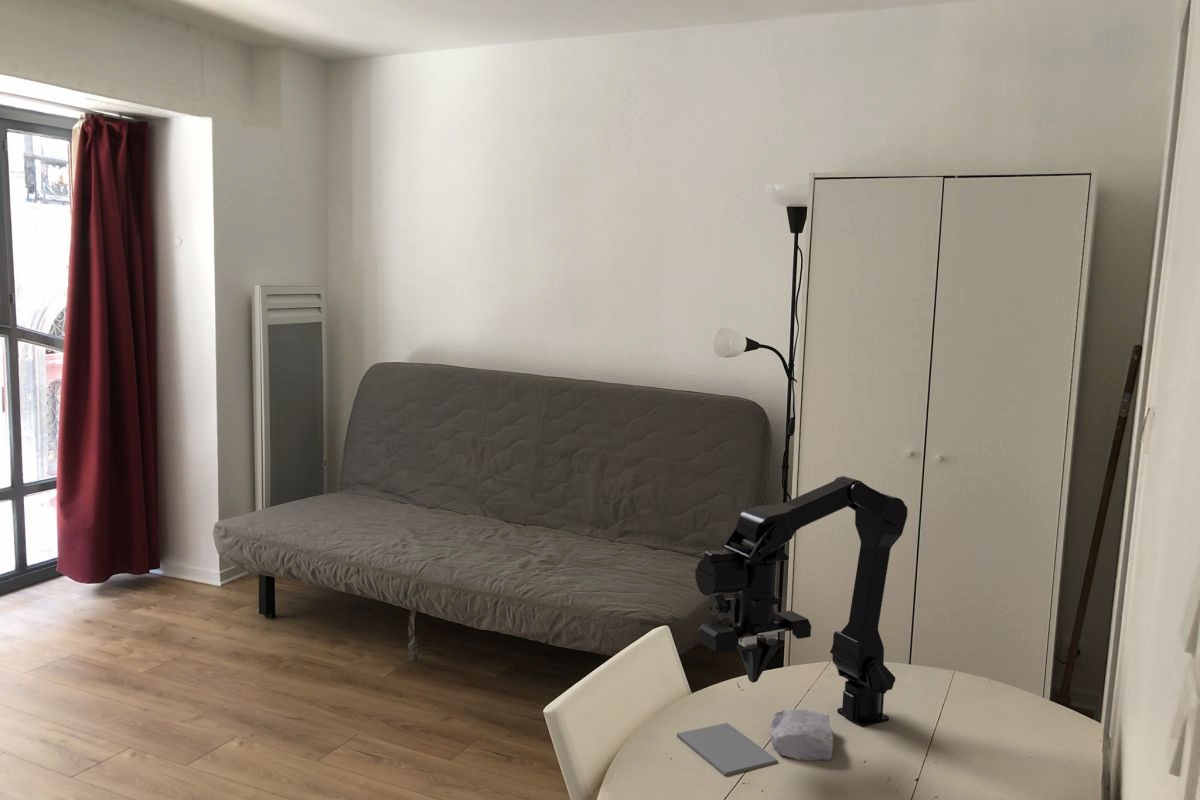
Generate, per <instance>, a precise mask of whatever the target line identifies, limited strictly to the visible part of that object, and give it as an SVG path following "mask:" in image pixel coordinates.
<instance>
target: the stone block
mask: <svg viewBox="0 0 1200 800" xmlns="http://www.w3.org/2000/svg"><path fill="white" fill-rule="evenodd" d="M772 718H773V719H772V720H771V722H770V723H771V725H770V728H769V734H770V740H771V745H772V748H773V749H775V751H776V752H777V754H779V755H781V756H784V757H787V758H791V759H794V760H800V761H801V760H805V761H806V760H807V761H826V762H828V761H831V759H832V758H833V750H834V735H833V730H832V727H831V725H830V724H831V723H830V716H829V713H827V712H826V713H819V712H816V711H814V710H809V709H802V708H790V709H789V708H788V709H782V710H780V711H777V712H775V713H773V717H772Z"/></svg>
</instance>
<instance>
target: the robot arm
mask: <svg viewBox="0 0 1200 800" xmlns="http://www.w3.org/2000/svg"><path fill="white" fill-rule="evenodd" d="M847 507H848V508H850V509H851V510H853V511H854V526H855V529H856V531H857V534H858V537H859V540H860V547H859V553H858V554H859V555H858V559H857V566H856V571H855V572H856V573H855V579H854V586H853V591H852V599H851V604H850V605H851V606H850V612H849V617H848V622H847V624H846V625H845V626H844V627H843V629H842V630H841V631H840V630H838V631H837V630H836V631H834V633H833V639H832V640H833V641H832V646H831V649H830V650H829V653H830V654H832V656H831V657H832V663H833V664H834V666H836V669H837V673H838V676H839V677H842V678H844V679H846V681H845V682H844V690H843V691H842V692H843V693H842V704H841V706H842V707H839V708H837V709H836V710H837V711H836V712H837V713H838V714H840V715H842V716H843V717H845V718H847V719H848V720H849V721H852V722H853V723H855V724H857V725H858V726H860V727H865V726H870V725H875V724H879V723H882V722H883V723H884V722H888V721H889V720H890V716H888V715H887V714H885V713H884V699H885V694H886V693H887V691H890V690H892V689H893V687H894V684H895V681H896V677H895V675H893V673H892V672H891V671H890V670H889V668H887V666H886V665H885V664H884V662H885V661H884V660H885V658H884V657H885V646H884V643H883V642H882V638H881V634H880V632H879V624H880V616H881V611H882V605H883V600H884V599H883V598H884V592H885V586H886V579H887V574H888V568H889V567H888V566H889V560H890V555H891V549H892V547H893V546H895V545H894V544H895V543H896V542H898V540H899V539H900V537H901V536H902V535H903V532H904V528H905V525H906V522H907V519H908V506H907V505H906V503H905V502H904V500H903V499H901V498H899V497H896V496H892V495H888V494H885V493H882V492H879V491H877V490H876V489H874V488H872V487H870V486H868V485H867V484H865V483H864V482H863V481H861V480H860V479H859V480H858V479H856V478H852V477H848V476H845V475H843V476H839V477H836V478H835V479H834V480H833V481H831V482H829V483H826V484H823V485H822V486H820V487H818V488H815V489H813V490H811V491H810V490H809V491H808V492H806V493H803V494H802V495H799V496H796V497H794V498H792V499H790V500H788V501H786V502H783V503H776V504H763V505H759V506H755V507H754V506H753V507H749V508H746V509H745V510H743V511H742V512H741V513H740V514H739V517H738V520H737V522H736V524H735V526H734V527H733V529H732V530H731V532H730V533H729V535H728V536H727V538H726V539H725V540H724V542H723V545H722V546H721V548H722V549H723V550H706V551H704V552H703V559H701V560H700V561H699V562H698V564H697V565H696V566H697V567H696V568H695V574H694V575H695V576H694V577H695V582H696V586H697V588H698V590H699V592H700V593H701V594H702V595H703V596H704V597H705V596H706V597H709V600H708V601H709V602H708V608H709V613H710V614H711V616H715V615H718V619H719V620H724V619H726V618H727V619H728V618H729V622H730V623H733V624H737V626H733V627H731V626H729V625H728V624H725V623H723V622H722V621H713V622H707V623H702V624H701V626H699V628H698V631H697V642H700V643H701V644H702V645H705V646H706V647H708V648H709V649H711V650H712V651H714V652H716V653H717V652H718V653H724V652H730V651H735V650H736V648H737V649H738V652H739V654H740V656H741V659H742V663H743V666H744V669H745V671H746V674H747V675H746V676H747V679H748V681H749V682H750V683H757V682H758V680H759V678H760V677H761V676H762V674H763V672H764V671H765V668H766V667H767V665H768V664H769V662H770V661H771V659H772V657H773V656H774V655H775V653H776V652H777V651H778V649H779V648H782V647H783V645H784V643H783V642H782V641H781V640H778V639H779V633H785V632H788V631H789V632H790V631H792V633H791V634H792V635H793V637H794V638H796V639H797V640H800V639H806V638H811V637H812V624H811V621H810V620H809V618H807V617H804V616H803V615H801V614H799V613H797V612H794V610H785V611H781V612H775V607H776V605H780V604H781V597H780V596H777V595H776V593H777V592H776V589H777V574H778V573H777V571H778V562H784V561H788V560H789V559H790V556H789V555H788V554H787V553H786V552H785V551H784V550H783V549H782V548H781V547H782V546H784V545H785V544H786V543H788V542H789V541H791V540H792V539H793V537H794V535H795V534H796V532H797V531H798V530H800V529H801V528H803V527H805V526H808V525H810V524H812V523H814V522H816V521H818V520H821V519H824V518H826V517H828V516H830V515H831V514H834V513H836V512H838V511H841V510H843V509H845V508H847ZM743 543H747V544H748V545H751V546H753V548H752V547H751V546H750V547H749V546H747V545H746V544H743ZM732 593H733V597H732V598H726V597H725V595H727V594H732Z"/></svg>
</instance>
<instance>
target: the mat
mask: <svg viewBox="0 0 1200 800" xmlns="http://www.w3.org/2000/svg"><path fill="white" fill-rule="evenodd" d="M676 737H677V738H678V739H679V740H680V741H682V742H683V743H684V744H685V745H687V746H688V747H689V748H690V749H692V751H694V752H695V753H696V754H698V755H699V756H700V757H701V758H702V759H704V760H705V761H706V762H707V763H709V765H711V767H713V768H714V769H716V771H718V772H719V773H720V774H722V775H723V776H724V777H725V776H729V775H734V774H738V773H742V772H745V771H750V770H754V769H758V768H761V767H760V766H762V767H765V765H766V766H769V764H770V765H772V764H773V765H774V764H777V763H778V759H777V758H776V757H775V756H773V755H772V754H771V753H769V752H768V751H766V750H765V749H764V748H762V747H761V746H760V745H758V744H756V743H755V742H754V741H753V740H751V738H749V737H747V736H746V735H744V734H743V733H742V732H740V731H739V730H737V728H735V727H733V726H732V725H731V724H729V723H728V722H724V723H720V724H715V725H710V726H706V727H702V728H701V727H699V728H697V729H692V730H686V731H682V732H678V733H676ZM757 767H758V768H757Z"/></svg>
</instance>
